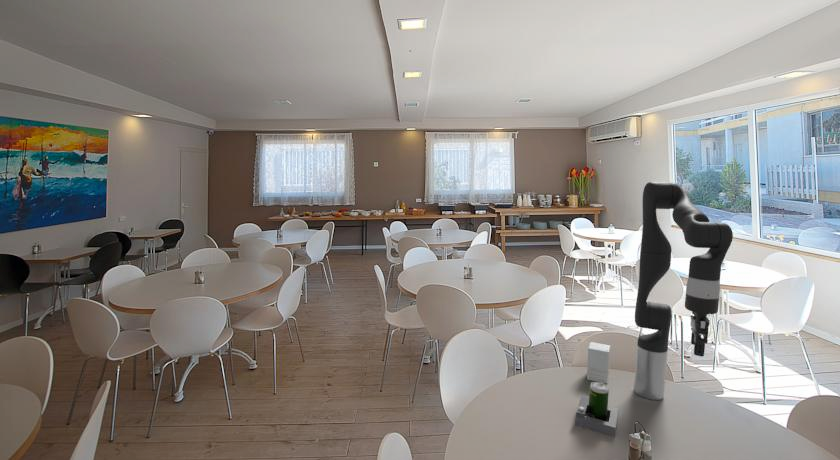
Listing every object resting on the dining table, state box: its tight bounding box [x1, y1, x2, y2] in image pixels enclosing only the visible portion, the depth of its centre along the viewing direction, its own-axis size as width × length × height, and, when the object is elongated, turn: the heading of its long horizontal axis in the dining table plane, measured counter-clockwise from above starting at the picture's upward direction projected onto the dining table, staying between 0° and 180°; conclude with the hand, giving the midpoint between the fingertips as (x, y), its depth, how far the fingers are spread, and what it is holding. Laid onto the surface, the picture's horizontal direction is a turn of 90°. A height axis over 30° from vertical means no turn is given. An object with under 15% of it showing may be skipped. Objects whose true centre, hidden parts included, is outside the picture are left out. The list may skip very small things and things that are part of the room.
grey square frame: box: [575, 395, 619, 438], centre depth 122 cm, size 11×11×5 cm
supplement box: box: [586, 341, 611, 385], centre depth 150 cm, size 7×7×13 cm
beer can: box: [587, 381, 610, 422], centre depth 122 cm, size 5×5×12 cm
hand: (697, 349), depth 110 cm, fingers open, 8 cm apart
